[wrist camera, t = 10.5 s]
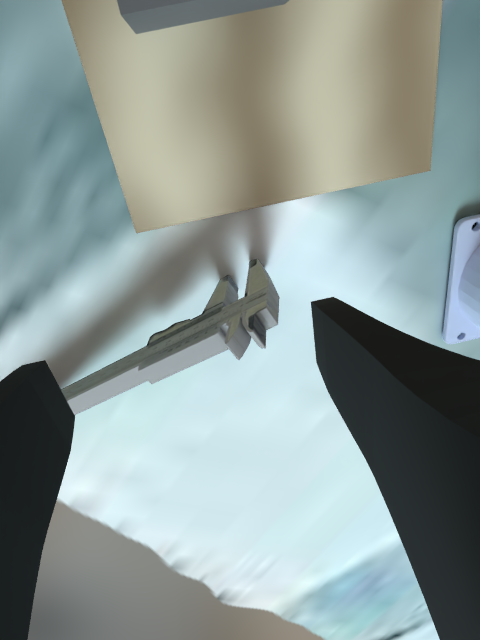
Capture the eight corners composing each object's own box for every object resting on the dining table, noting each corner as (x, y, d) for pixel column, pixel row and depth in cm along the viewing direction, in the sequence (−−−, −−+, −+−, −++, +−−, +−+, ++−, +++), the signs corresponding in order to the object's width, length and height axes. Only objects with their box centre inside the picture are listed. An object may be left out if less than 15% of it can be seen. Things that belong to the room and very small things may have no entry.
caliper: (255, 252, 21) (283, 310, 16) (266, 268, 22) (296, 330, 16) (-30, 437, 25) (-90, 538, 19) (-15, 447, 25) (-69, 547, 20)
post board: (443, -253, 13) (575, -423, 9) (419, 166, 20) (487, 189, 15) (12, -172, 12) (-75, -308, 8) (138, 226, 19) (126, 266, 15)
